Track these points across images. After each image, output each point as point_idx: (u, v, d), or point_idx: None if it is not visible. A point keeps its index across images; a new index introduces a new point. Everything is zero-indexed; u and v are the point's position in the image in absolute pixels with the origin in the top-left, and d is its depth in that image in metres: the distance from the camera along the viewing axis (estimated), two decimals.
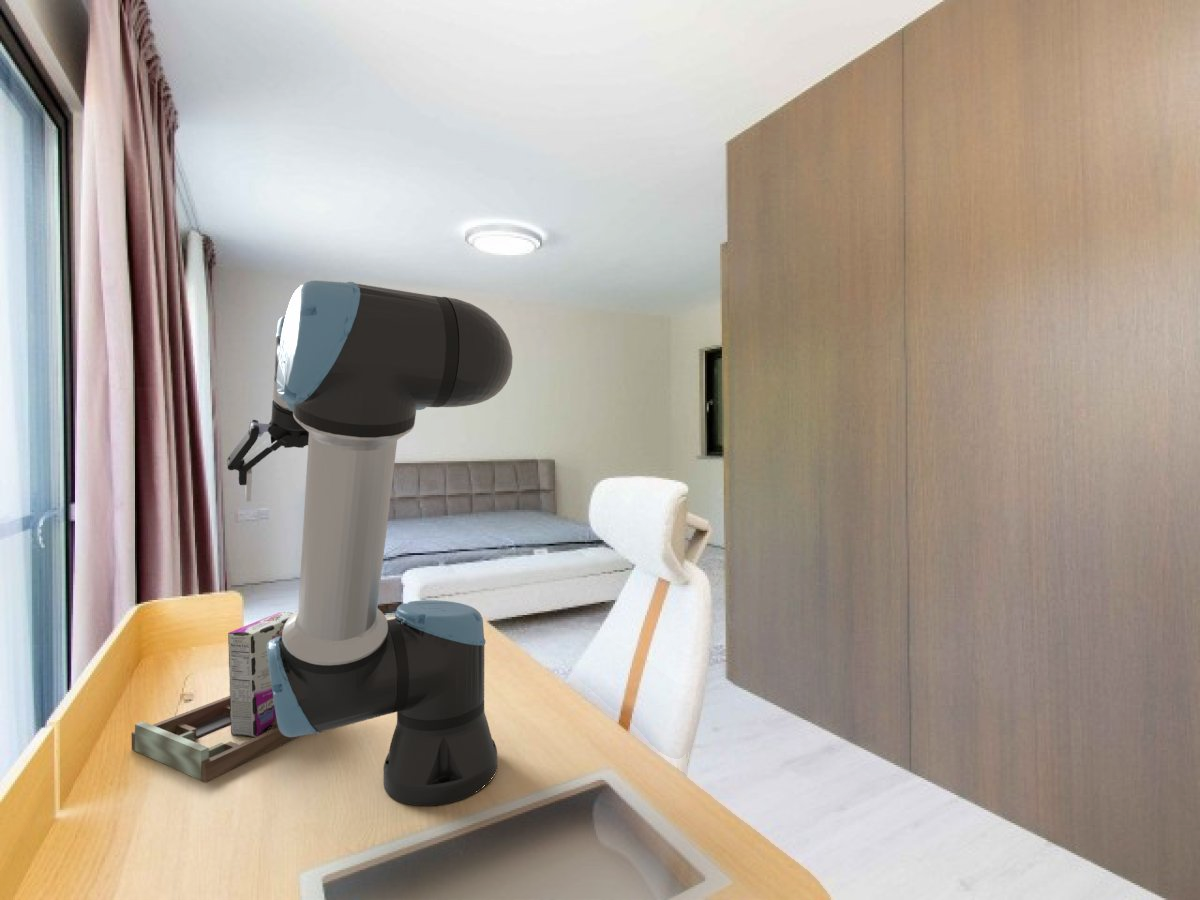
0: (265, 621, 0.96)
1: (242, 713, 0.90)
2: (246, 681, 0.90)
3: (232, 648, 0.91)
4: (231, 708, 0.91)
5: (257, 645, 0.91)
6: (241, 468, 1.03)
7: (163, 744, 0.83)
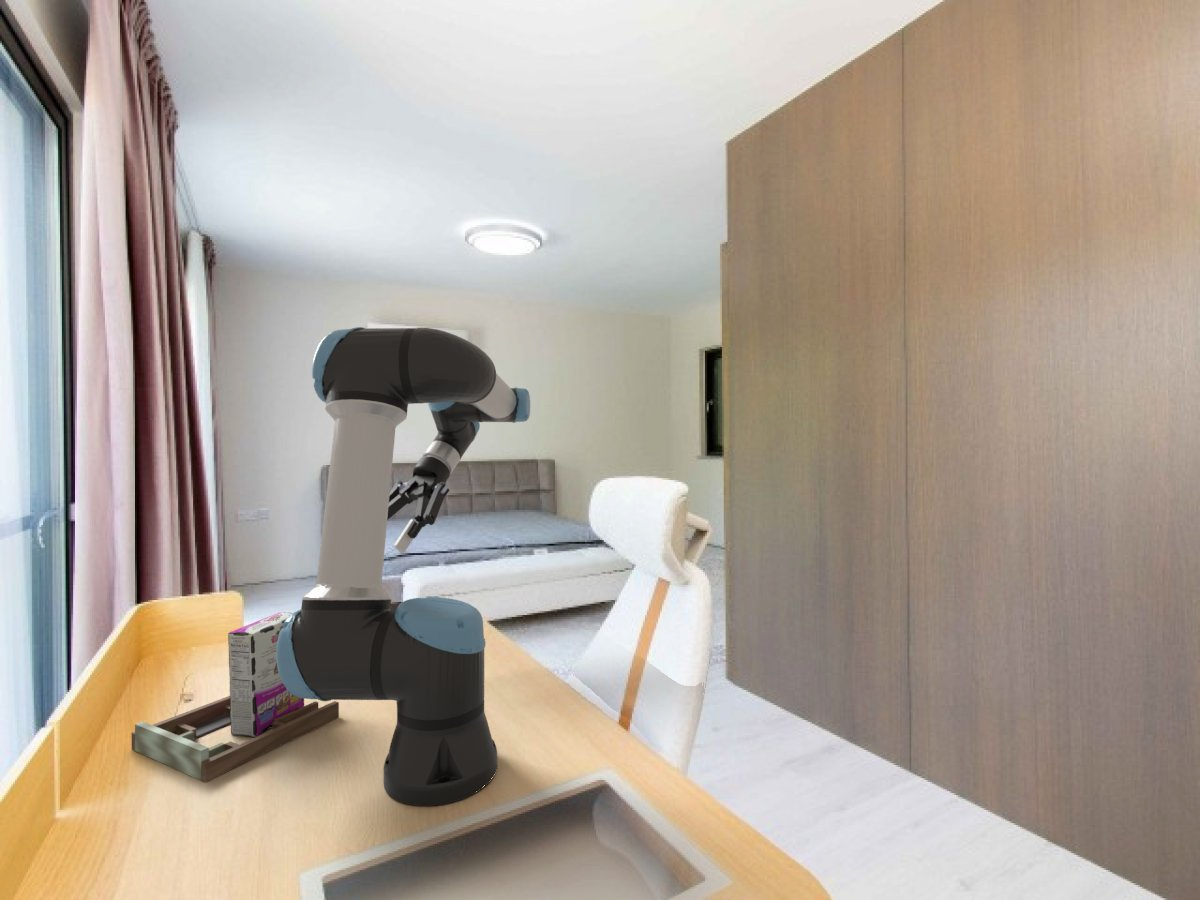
0: (265, 621, 0.96)
1: (242, 713, 0.90)
2: (246, 681, 0.90)
3: (232, 648, 0.91)
4: (231, 708, 0.91)
5: (257, 645, 0.91)
6: None
7: (163, 744, 0.83)
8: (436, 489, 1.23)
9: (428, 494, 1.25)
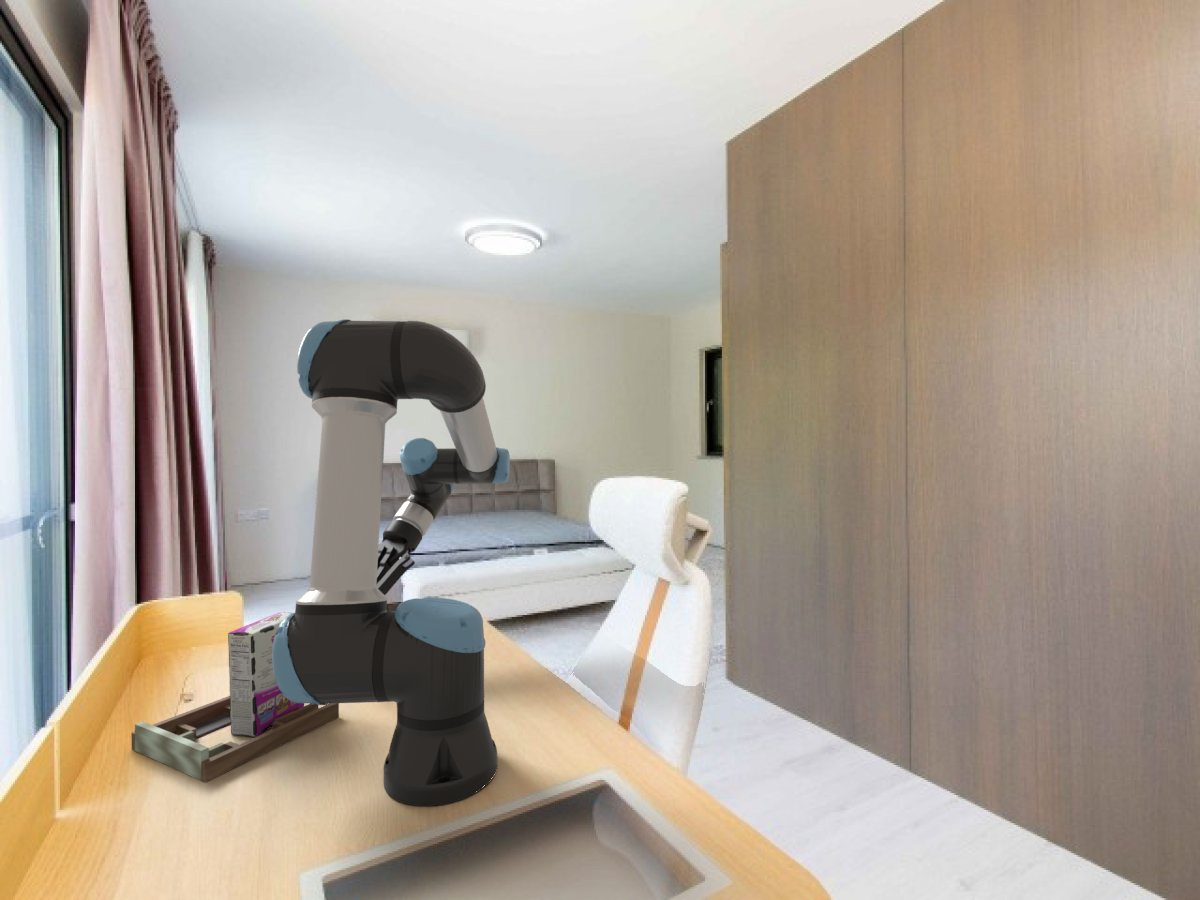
0: (265, 621, 0.96)
1: (242, 713, 0.90)
2: (245, 681, 0.90)
3: (231, 648, 0.91)
4: (231, 708, 0.91)
5: (257, 645, 0.91)
6: None
7: (163, 744, 0.83)
8: (398, 562, 1.16)
9: None
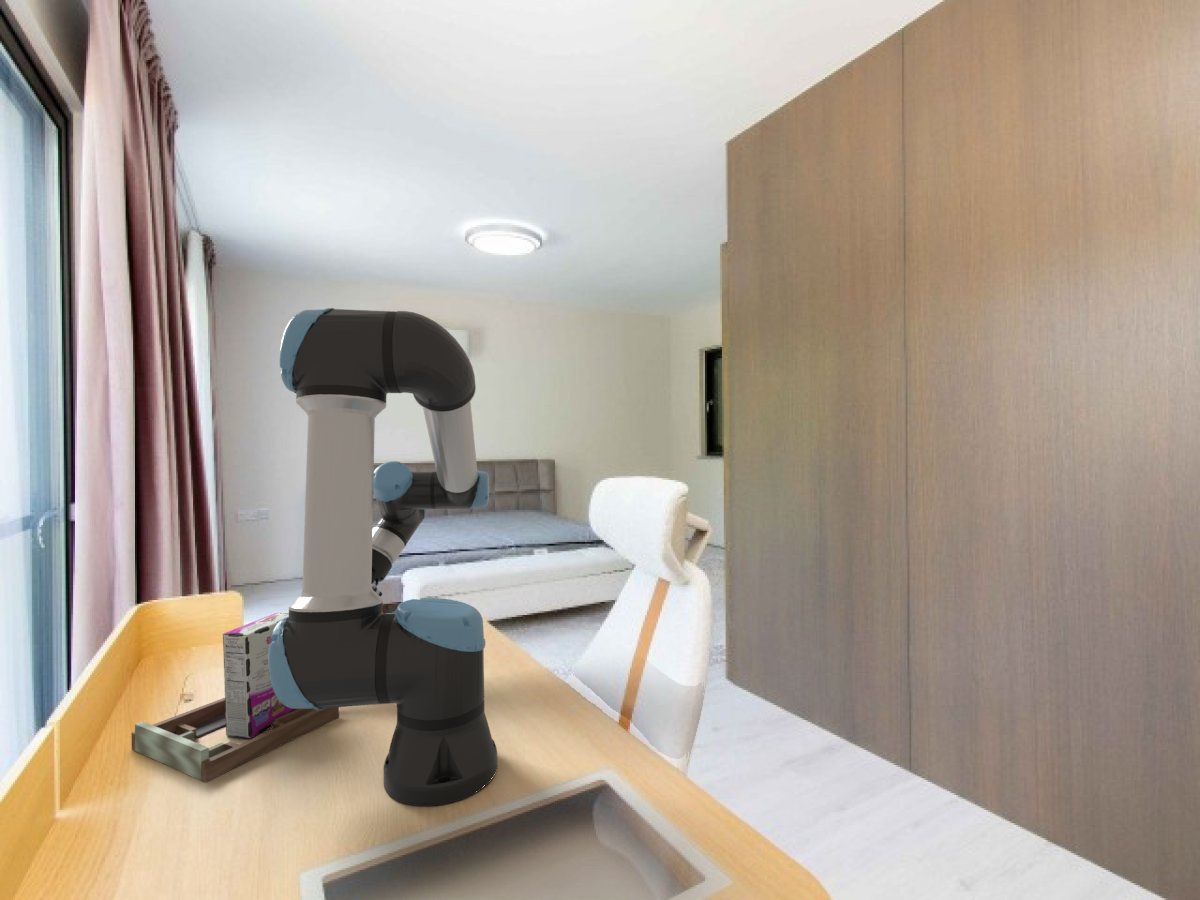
0: (260, 622, 0.95)
1: (237, 714, 0.90)
2: (240, 683, 0.90)
3: (226, 649, 0.90)
4: (227, 709, 0.90)
5: (252, 646, 0.90)
6: None
7: (163, 744, 0.83)
8: None
9: None
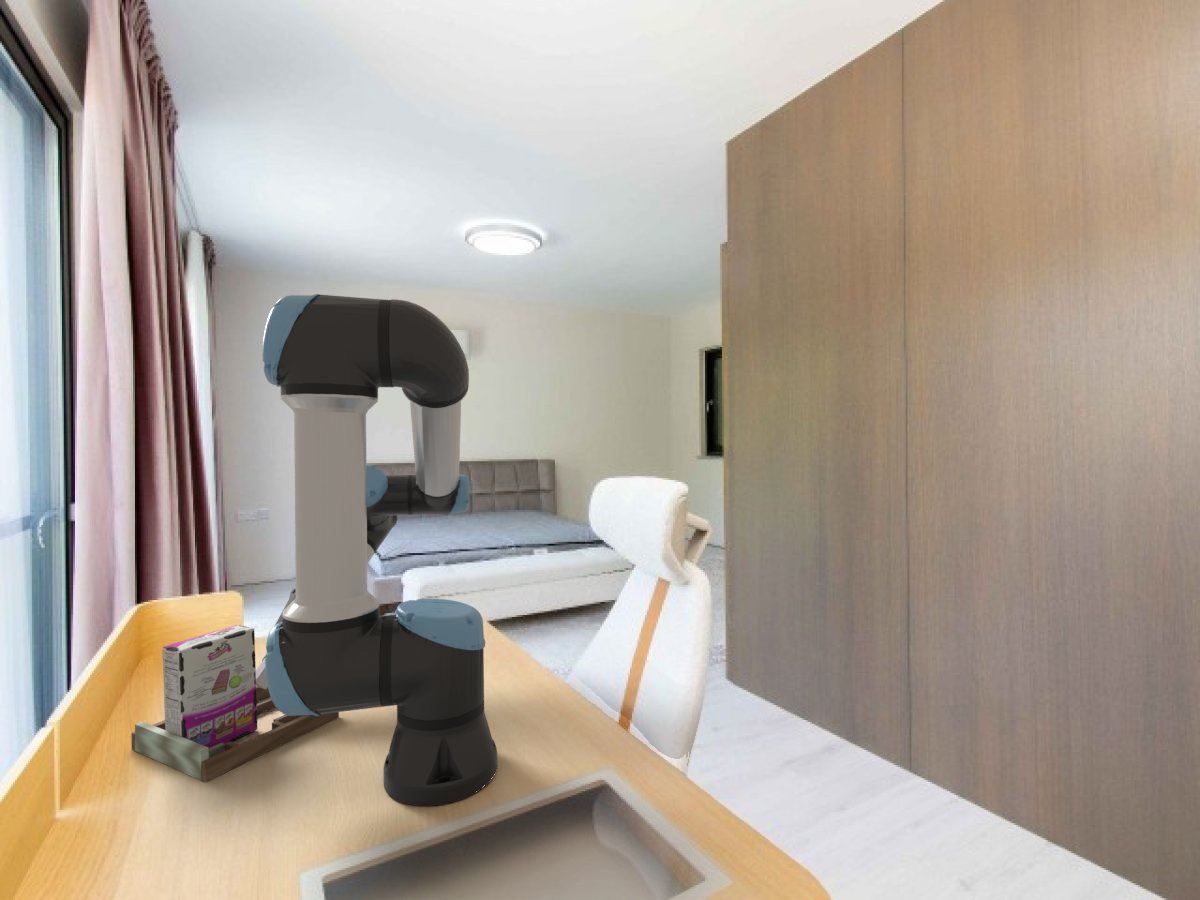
0: (209, 635, 0.89)
1: None
2: (176, 701, 0.83)
3: (165, 664, 0.84)
4: (166, 728, 0.84)
5: (187, 663, 0.83)
6: None
7: (163, 744, 0.83)
8: None
9: None
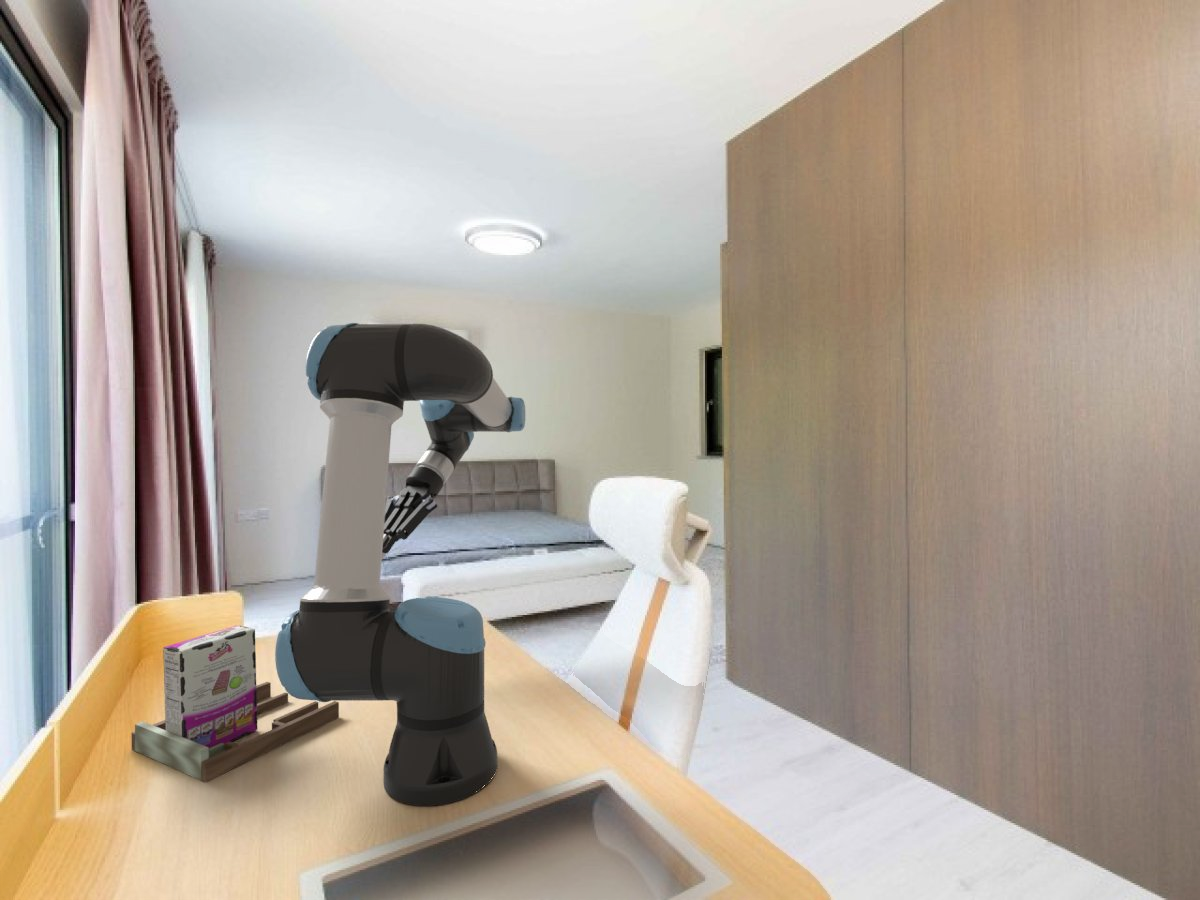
0: (210, 636, 0.89)
1: None
2: (176, 702, 0.83)
3: (165, 664, 0.84)
4: (166, 728, 0.84)
5: (188, 663, 0.83)
6: None
7: (163, 744, 0.83)
8: (422, 504, 1.21)
9: (416, 507, 1.23)
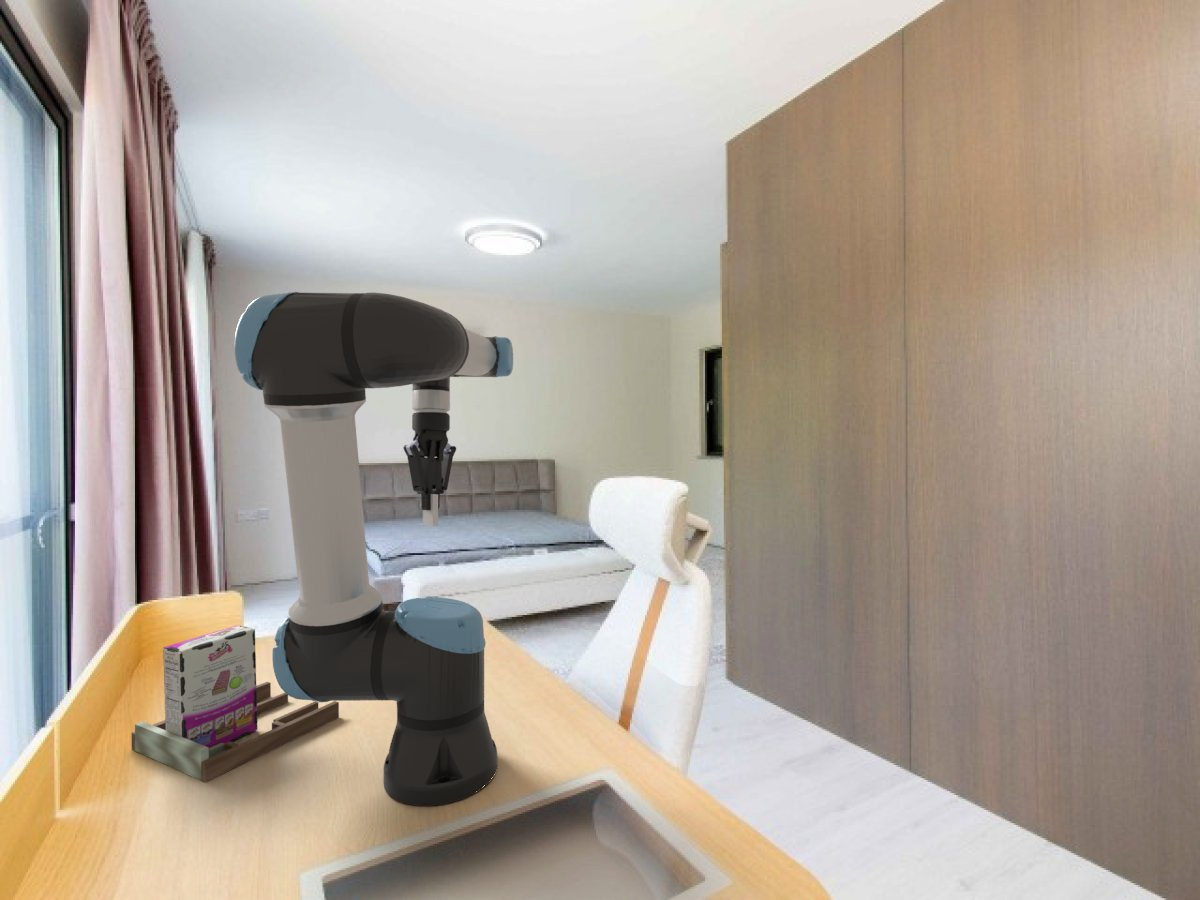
0: (210, 636, 0.89)
1: None
2: (176, 702, 0.83)
3: (165, 664, 0.84)
4: (166, 728, 0.84)
5: (188, 663, 0.83)
6: (428, 491, 1.18)
7: (163, 744, 0.83)
8: (451, 454, 1.24)
9: None
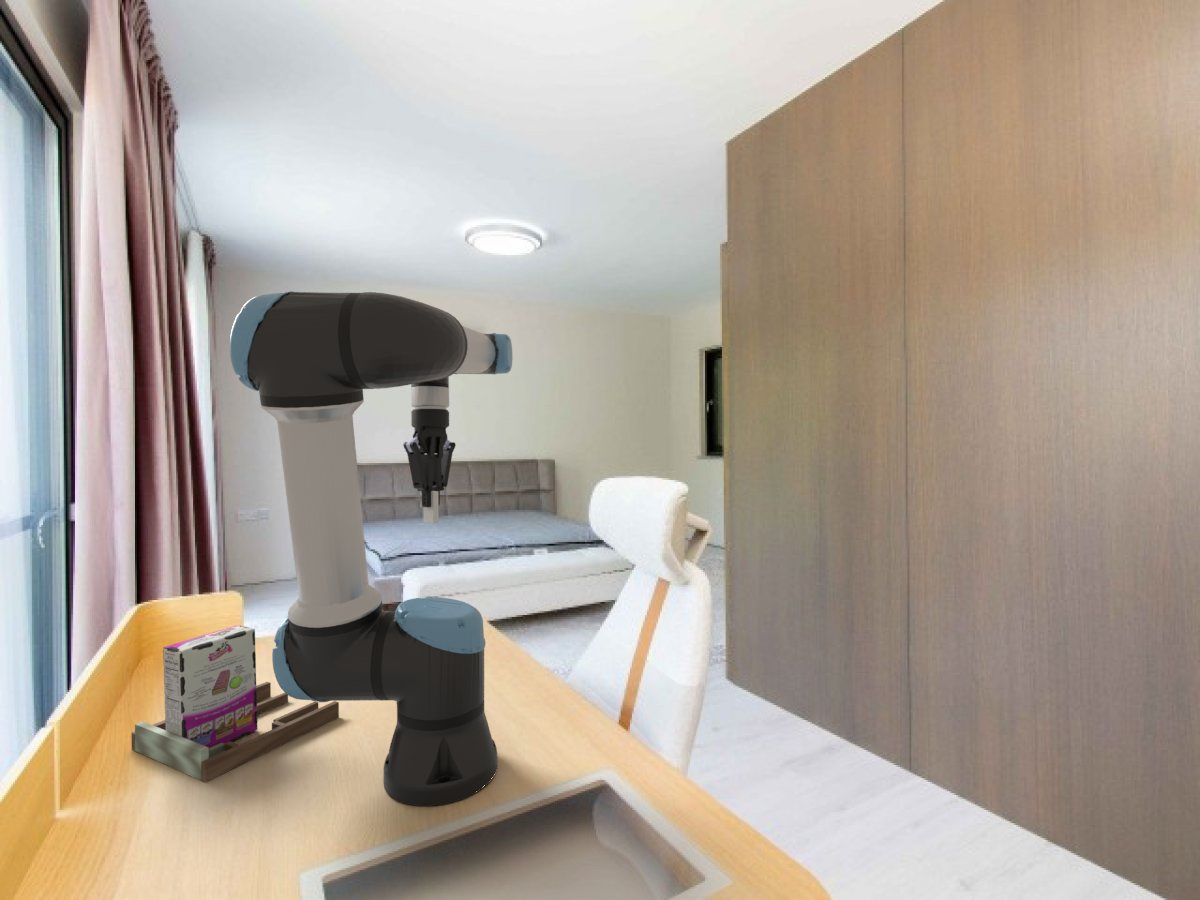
0: (210, 636, 0.89)
1: None
2: (176, 702, 0.83)
3: (165, 664, 0.84)
4: (166, 728, 0.84)
5: (188, 663, 0.83)
6: (428, 488, 1.18)
7: (163, 744, 0.83)
8: (450, 451, 1.24)
9: None
